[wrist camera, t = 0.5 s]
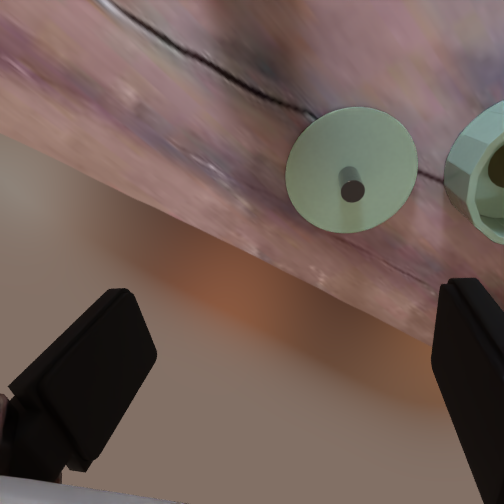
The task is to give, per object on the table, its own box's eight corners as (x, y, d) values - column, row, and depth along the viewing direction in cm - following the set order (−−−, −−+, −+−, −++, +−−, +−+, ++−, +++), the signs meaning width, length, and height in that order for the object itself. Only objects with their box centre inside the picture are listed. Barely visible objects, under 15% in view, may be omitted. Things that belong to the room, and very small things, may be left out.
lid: (292, 234, 47) (288, 258, 40) (278, 118, 39) (270, 126, 33) (411, 225, 43) (427, 251, 36) (420, 94, 35) (442, 98, 29)
